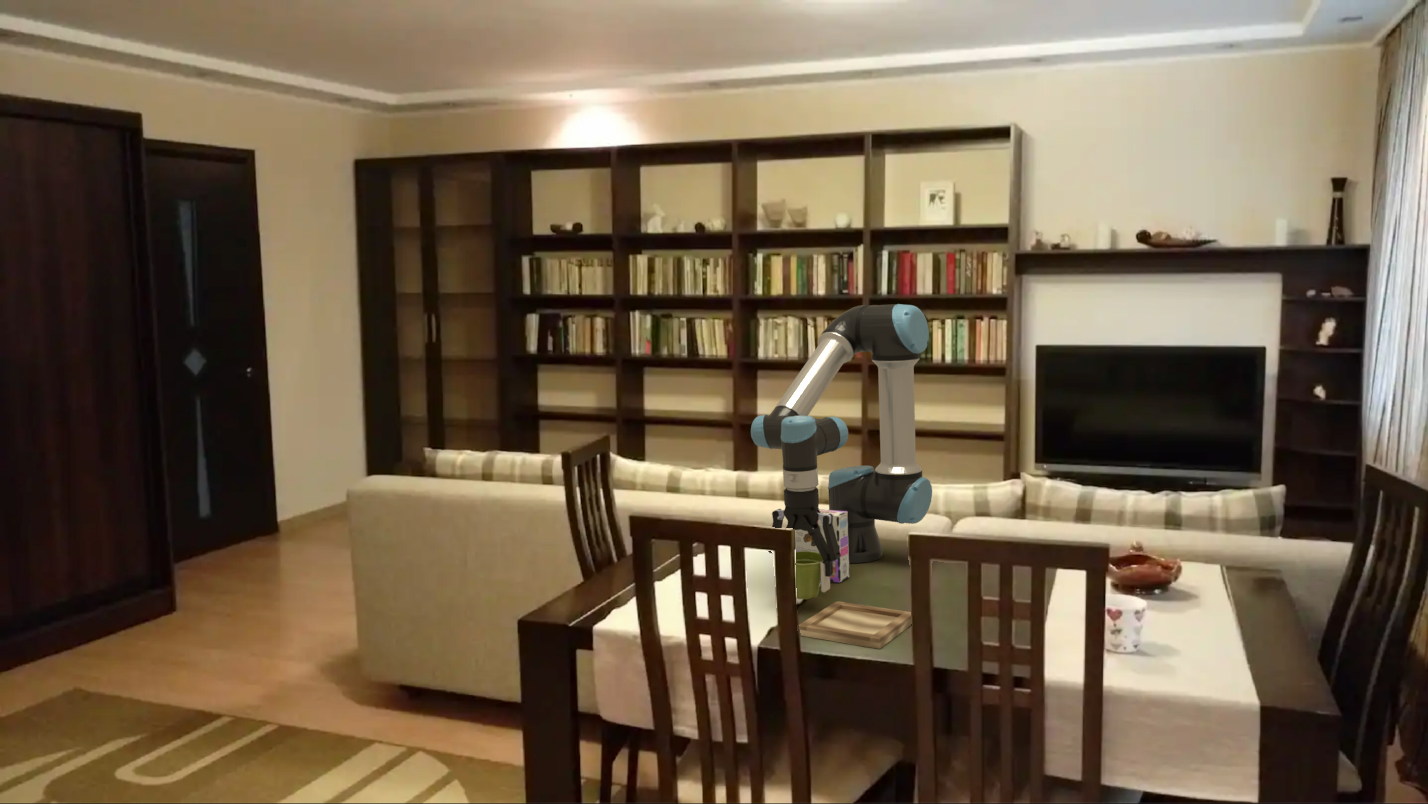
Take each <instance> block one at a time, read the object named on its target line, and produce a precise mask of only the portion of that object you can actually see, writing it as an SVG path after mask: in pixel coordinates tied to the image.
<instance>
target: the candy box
mask: <svg viewBox="0 0 1428 804" xmlns="http://www.w3.org/2000/svg"><path fill="white" fill-rule="evenodd" d="M819 511H820V513H822V514H830V513H831V514H832V515H833V528H834V532H835V535H836V539H837V543H838V547H839V550H840V554H841V557H840V558H838V559H837V560H835V561H833V574H832V575H831V576H830V583H831V582H832V583H838V584H839V583H842V582H843V581H845V580H847V579H848V578H850V563H849V545H848V512H847V511H835V510H829V509H825V508H824V509H823V508H822V509H821V508H819ZM817 523H818V525H819V527H820V531H821V533H822V535H823V537H824V539H825V541H826V538H825V534H824V531H823V524H821V520H820V519H819V520H818V521H817ZM813 529H814V528H813ZM826 543H827V542H826ZM798 551H811V552H817V553H819V551H818V549H817V547H816V545H815V543H814V541H813V539H812V537H811V535H809V534H808V532H807V531H803V530H801V529H800V530H796V552H798ZM820 581H821V579H820Z"/></svg>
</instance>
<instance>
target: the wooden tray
mask: <svg viewBox="0 0 1428 804" xmlns="http://www.w3.org/2000/svg"><path fill="white" fill-rule="evenodd" d="M798 625H799V629H800V633H801V635H800V636H801V637H807V638H814V639H819V640H826V641H830V642H836V643H837V642H838V643H841V644H842V643H843V644H846V645H847V644H848V645H855V646H860V647H867V648H872V649H876V650H877V649H878V650H880V649H882V648H883V647H885V646H886V645H887V644H888V643H889V642H891V641H892V640H893V639H895V638H896V637H898V636H899V635H900V634H901V633H902V632H904V631H905V630H907V629H908V628H909V627H911V611H905V610H900V609H899V610H898V609H891V608H886V607H879V606H874V605H873V606H872V605H865V604H859V603H853V602H852V603H851V602H845V601H838V600H837V601H835V602H834V603H831V604H830V605H829V606H827V607H825V608H823V609H822V610H821V611H819V612H817V613H815V614H814V615H813V616H811V617H809V618H807V619H806V620H805V621H803V622H801V623H799V624H798Z"/></svg>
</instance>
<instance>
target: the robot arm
mask: <svg viewBox="0 0 1428 804" xmlns="http://www.w3.org/2000/svg"><path fill="white" fill-rule="evenodd" d="M929 339H930V330H929V325H928V321H927V319H926V316H925V314H924V313H923V312H922V310H921V309H920V308H919V307H918V306H915V305H912V304H902V303H901V304H900V303H897V304H880V305H879V304H872V305H870V304H862V305H857V306H854V307H851V308H850V309H847V310H846V311H844V312H842V313H841V314H840V315H838V316H837V317H836V318H835V319H833V320H832V321H831V322H830V323H829V324H828V325H827V326H826V328H825V329H824V330H823V331H822V333H821V334H820V336H818V339H817V347H816V348H815V350H814V351H813V352H812V353H811V356H810V357H809V358H808V359H807V360H806V363H805V364H804V365H803V367H802V368H801V370H800V371H799V372H798V374H797V375H796V376H795V378H794V380H793V381H792V382H791V384H790V386H789V387H788V388H787V389H786V391H785V392H784V394H783V395H782V396H781V399H780V400H779V401H778V402H777V404H776V406H775V407H774V408H773V409H772V411H771V412H770V414H769V415H768V414H764V415H758V416H756V417H755V418H754V419H753V421H752V422H751V423H752V424H751V426H750V427H751V428H750V437H751V439H752V441H753V443H754V445H755V446H757V447H761V448H765V449H769V450H774V449H775V450H781V453H782V455H781V456H782V477H783V479H782V480H783V481H782V482H783V487H784V490H783V503H784V509H782V508H778V509H776V510H774V511H773V510H772V512H771V515H772V521H773V522H772V526H771V528H772V527H775V528H782V527H783V522H784V518H785V519H786V520H787V524H786V527H785V529H786V528H793V529H795V530H800V529H801V530H803V531H807V532H808V534H809V535H811V537H812V539H813V541H814V543H815V545H816V547H817V549H818V551H819V553H820V555H821V557H822V559H823V561H822V562H821V563H820V567H821V580H820V584H821V585H820V586H821V587H820V588H821V589H820V590H821V592H822V593H826V592H827V591H829V590H831V582H830V576H831V575H832V574H833V561H835V560H837V559H838V558H840V557H841V554H840V550H839V547H838V543H837V539H836V535H835V532H834V528H833V515H832V514H831V513H830V514H822V513H820V511H819V509H820V508H819V505H820V497H819V493H820V492H819V488H818V486H819V474H818V456H822V455H824V454H828V453H830V452H835V451H838V449H841V448H842V447H844V446H845V445H846V444H847V441H848V438H849V429H848V427H847V425H846V422H845V421H844V420H842V419H841V418H840V417H837V416H830V417H829V416H825V417H822V418H814V417H813V416H811V415H810V414H811V412H812V410H813V409H814V407H815V406H816V404H817V403H818V402H819V400H820V399H821V397H822V396H823V394H824V392H825V391H826V389H827V388H828V387H829V385H830V384H831V382H832V381H833V379H834V378H835V376H836V375H837V373H838V372H839V370H840V369H841V367H842V366H843V365H844V364H846V363H847V362H848V363H849V362H850V361H851V360H852V359H853V357H854V356H855V355H856V354H859V353H863V352H865V353H871V361H872V362H873V363H874V365H876V366H877V370H878V407H879V411H878V412H879V442H880V444H879V445H880V446H879V447H880V462H879V464H878V465H877V466H876V467H875V469H874V466H872V465H856V466H855V465H854V466H848V467H843V468H842V467H841V468H838V469H835V470H833V471H831V472H830V474H829V475H828V482H827V483H828V486H827V490H828V491H827V492H828V510H835V511H847V512H848V545H849V564H858V563H859V564H860V563H869V562H870V563H871V562H874V561H877V560H879V559H881V558H882V557H883V547H882V542H881V540H880V538H879V534H878V531H877V529H876V524H875V523H876V520H877V521H883V522H892V523H897V524H917V523H919V522H921V521H922V520H923V519H924V518H925V517H926V515H927V514H928V511H929V509H930V507H931V503H932V498H933V487H932V486H933V485H932V483H931V481H930V480H929V479H928V478H927V477H924V476H923V468H922V467H921V466H920V464H918V463H917V462H916V461H917V457H916V453H917V452H916V450H917V449H916V423H915V422H916V418H915V417H916V415H915V414H916V413H915V410H916V409H915V374H914V373H915V372H914V370H915V369H914V368H915V365H916V364H917V363H918V361H920V357H921V356H920V354H921V353H923V352H924V351H925V350H926V349H927V348H928V342H929V341H930V340H929ZM819 519H820V520H821V524H823V531H824V534H825V538H826V541H825V539H824V537H823V535H822V533H821V531H820V527H819V525H818V523H817V521H818V520H819ZM813 528H814V529H813ZM782 529H783V528H782ZM826 542H827V543H826ZM767 553H769V554H773V553H772V552H771V551H768V550H767Z"/></svg>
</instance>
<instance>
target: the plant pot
mask: <svg viewBox="0 0 1428 804" xmlns="http://www.w3.org/2000/svg"><path fill="white" fill-rule="evenodd" d="M822 561H823V559H822V557H821V555H820V553H817V552H811V551H798V552H796V563H795V565H796V588H797V598H796V599H798V600H811V599H812V598H817V597H818V596H819V593H820V588H821V587H820V586H821V585H820V584H821V580H820V579H821V567H820V563H821V562H822Z"/></svg>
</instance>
